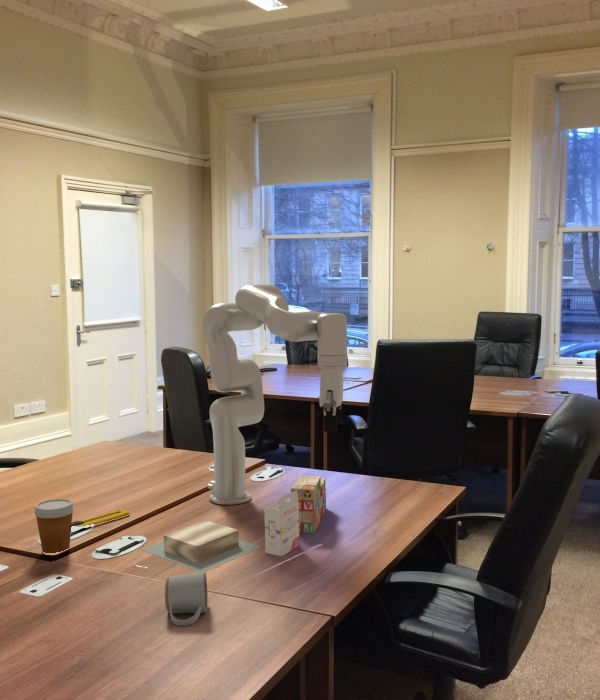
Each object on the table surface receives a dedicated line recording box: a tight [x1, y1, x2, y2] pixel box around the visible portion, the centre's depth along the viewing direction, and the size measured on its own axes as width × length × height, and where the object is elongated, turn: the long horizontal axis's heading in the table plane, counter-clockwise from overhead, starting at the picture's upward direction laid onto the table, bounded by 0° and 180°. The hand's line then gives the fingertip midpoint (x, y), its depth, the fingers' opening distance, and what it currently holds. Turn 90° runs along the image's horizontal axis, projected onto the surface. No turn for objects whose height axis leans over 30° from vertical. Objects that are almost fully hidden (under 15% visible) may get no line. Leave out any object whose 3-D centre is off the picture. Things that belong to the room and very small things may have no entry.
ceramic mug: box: [164, 571, 209, 626], centre depth 141 cm, size 11×8×8 cm
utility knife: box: [71, 509, 130, 527], centre depth 197 cm, size 7×22×2 cm, turn 137°
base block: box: [163, 519, 240, 563], centre depth 175 cm, size 12×14×4 cm
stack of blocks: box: [290, 475, 327, 534], centre depth 197 cm, size 21×6×12 cm, turn 169°
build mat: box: [141, 539, 262, 573], centre depth 176 cm, size 22×20×1 cm
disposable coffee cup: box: [33, 498, 75, 553], centre depth 175 cm, size 10×10×12 cm
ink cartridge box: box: [263, 490, 300, 557], centre depth 174 cm, size 9×5×15 cm, turn 148°
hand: (333, 427), depth 182 cm, fingers open, 9 cm apart
